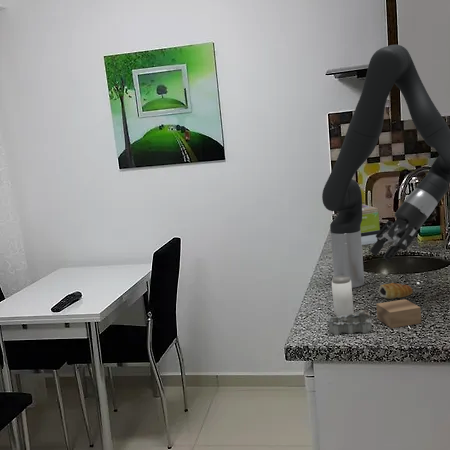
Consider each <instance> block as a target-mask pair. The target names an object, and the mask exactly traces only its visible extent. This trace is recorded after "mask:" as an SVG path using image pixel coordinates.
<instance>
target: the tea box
mask: <svg viewBox="0 0 450 450" xmlns="http://www.w3.org/2000/svg"><path fill="white" fill-rule="evenodd" d="M380 226H381V225H380V213H379V208H378V207H375V206H371V205H367V204H365V203H362V222H361V225H360V229H361V242H362V246H366V245H372V244H373V245H374V244H375V243H376V242H377V238H376V235H377V234H378V232H379V231H380V230H381V227H380Z"/></svg>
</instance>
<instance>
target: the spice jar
mask: <svg viewBox="0 0 450 450" xmlns="http://www.w3.org/2000/svg"><path fill="white" fill-rule="evenodd" d="M352 289H353V288H352V285H351V280H350V277H349V276H345V275H341V276H335V277H334V276H333V277H332V280H331V292H332V303H333V305H332V306H333V314H334V316H335V317H338V316H342V315H344V316H346V315H349V314H351V313H352V314H355V312H354V302H353V301H354V300H353V299H354V298H353V290H352Z"/></svg>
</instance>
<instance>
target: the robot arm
mask: <svg viewBox="0 0 450 450" xmlns="http://www.w3.org/2000/svg"><path fill="white" fill-rule="evenodd" d="M420 77H421V76H420V75H419V72H418V70H417V68H416V65H415V63H414V61H413V59H412V56H411V54H410V52H409V50H408V49H407V48H406V47H404V46H403V45H400V44H390V45H387V46H384V47H380V48H379V49H378V50H376V51H375V52H374V53H373V55H372V56H371V58H370V60H369V63H368V67H367V71H366V75H365V80H364V82H363V87H362V91H361V94H360V97H359V100H358V102H357V104H356V106H355V109H354V111H353V115H352V117H351V119H350V123H349V125H348V127H347V129H346V130H347V131H346V133H345V137H344V140H343V143H342V145H341V147H340V150H339V153H338V156H337V159H336V161H335V163H334V165H333V168H332V170H331V172H330V174H329V176H328V178H327V181H326V182H325V183H324V184H325V185H324V187H323V189H322V195H321V198H322V199H321V200H322V203H323V206H324V208H326V209H325V210H328V211H330V212H338V213H337V216H336V218H334V219H333V220H332V221H331V222H330V225H329V230H330V241H331V242H330V243H331V253H332V266H333V268H332V269H333V277H335V276H341V275H345V276H349V277H350V280H351V285H352V289H354V288H359V287H362V286H364V285H365V275H364V274H365V273H364V272H365V271H364V259H363V245H362V242H361V229H360V225H361V222H362V204H363V196H362V195H363V193H362V190H361V186H360V184H359V183H358V182H357V181H356V180H354V179H353V178H354V176H355V174H356V173H357V171H358V170H359V169H360V168H361V167H362V166H363V164H364V163H365V162H366V161H367V159H368V158H369V157H370V156H371V154H372V153H373V152H374V150H375V149H376V146H377V144H378V141H379V139H380V137H381V133H382V131H383V125H384V121H385V120H384V119H385V107H386V103H387V100H388V98H389V96H390V93H391V91H392V88H393V87H394V85H395V86H396V87H397V88H398V90H399V91H400V93H401V95H402V96H403V98H404V101H405V103H406V106H407V109H408V111H409V115H410V118H411V121H412V123H413V125H414V127H415V128H416V130H417V131H418V133H419V134H420V136H421V138H422V139H423V141H424V142H425V144H426V145H427V146H429V147H431V148H433V149H434V150H435V151H436V152H437V154H438V156H437V157H436V158H435V160H434V161H433V163H432V165H431V166H430V168H429V170H428V171H427V174H426V175H425V176H424V177H423V179H421V181H419V183H418V185H417V186H416V187H415V188H414V190H412V192H410V194H409V195H408V196H407V198H406V199H404V201H403V202H402V204H400V206H399V207H398V208H397V210H396V212H394V217H395V218H396V220H395V221H394V222H393V221H391V220H387V222H386V223H385V224H384V225H383V226H382V227H381V228H380V231H379V232H378V234H377V235H376V238H377V242H376V243H373V245H372V247H371V248H370V249H369V252H370V253H371V254H372V255H374V256H377V255H378V254H379V253H380V252H381V251H382V249H383V248H384V247H385V245H386V244H388V243H389V242H390V243H391V242H392V244H391V245H390V247H388V249H387V250H386V252H385V253H384V254H383V259H385V260H386V261H387V262H391V261H393V259H394V257H395V256H396V255H397V254H398V252H401V251H406V250H407V249H408V247H409V246H410V245H411V243H412V242H413V241H414V239H415V237H416V236H418V230H420V228H421V227H422V226H423V225H424V223H425V222H426V221H427V219H428V218H429V217H430V215H431V214H432V213H433V212H434V211H435V208H436V207H437V205H438V204H439V202H440V201H441V200H442V199H443V197H444V196H445V194H447V192H448V190H449V187H450V186H449V184H450V127H449V125H448V124H447V122H446V120H445V118H443V116H442V113H441V112H440V111H439V110H438V108H437V106H436V105H435V103H434V101H432V98H431V96H430V95H429V93H428V92H427V91H428V90H427V89H426V88H425V85H424V84H423V82H422V79H421V78H420Z"/></svg>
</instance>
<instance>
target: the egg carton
mask: <svg viewBox="0 0 450 450" xmlns="http://www.w3.org/2000/svg"><path fill="white" fill-rule="evenodd" d="M327 323H328V331H329V334H334V335H340V334H341V333H347V334H350V335H352V334H354V333H356V332H357V333H359V332H360V333H362V334H367V333H368V332H371V331H372V317H371V315H370V311H369V309H362V310H357V311H356V312H355V313H354V314H352V313H351V314H349V315H346V316H344V315H342V316H334V317H333V316H328V317H327Z"/></svg>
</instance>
